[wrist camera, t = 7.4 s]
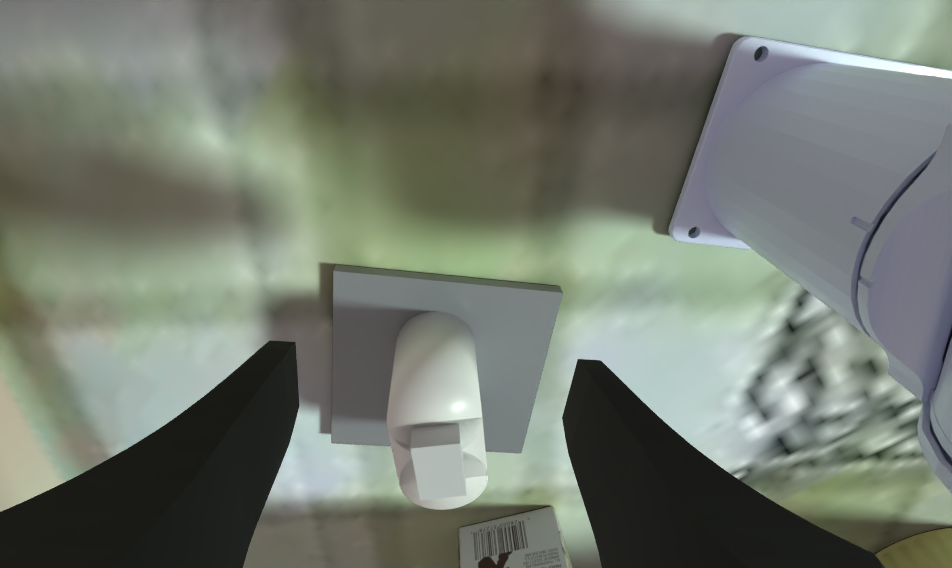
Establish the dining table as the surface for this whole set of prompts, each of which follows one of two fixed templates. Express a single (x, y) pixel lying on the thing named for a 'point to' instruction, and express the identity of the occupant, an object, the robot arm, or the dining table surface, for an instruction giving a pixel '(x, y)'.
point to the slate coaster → (471, 299)
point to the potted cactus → (920, 551)
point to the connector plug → (437, 413)
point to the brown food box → (514, 542)
